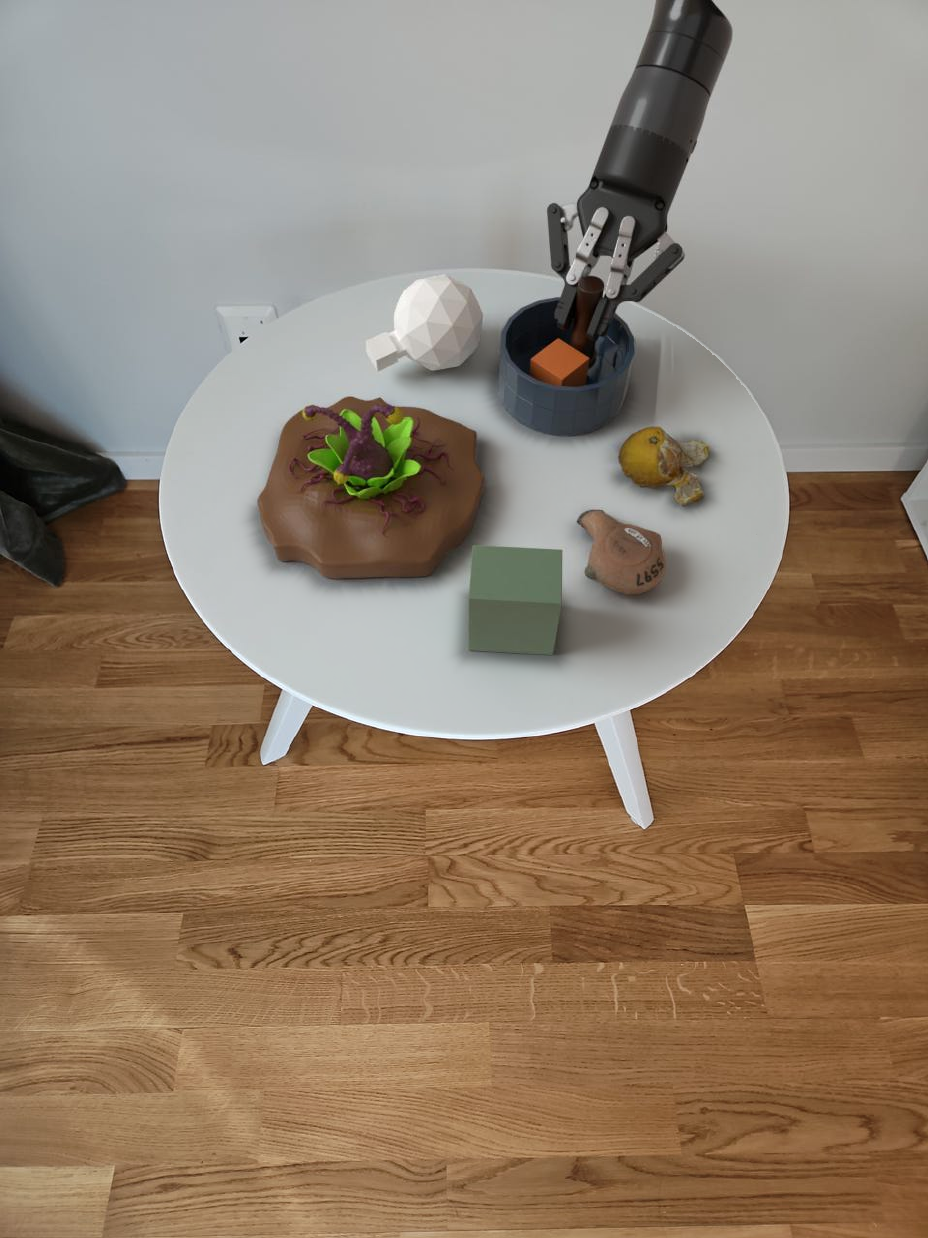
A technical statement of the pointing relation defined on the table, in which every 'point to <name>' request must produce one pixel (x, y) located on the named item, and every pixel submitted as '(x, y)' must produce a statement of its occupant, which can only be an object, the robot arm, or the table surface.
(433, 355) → the perfume bottle
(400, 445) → the plant
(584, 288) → the brown cylindrical peg
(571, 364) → the block
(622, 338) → the bowl
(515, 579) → the stand
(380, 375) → the table surface
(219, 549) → the table surface
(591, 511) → the oil lamp
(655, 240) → the robot arm
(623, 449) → the fruit
